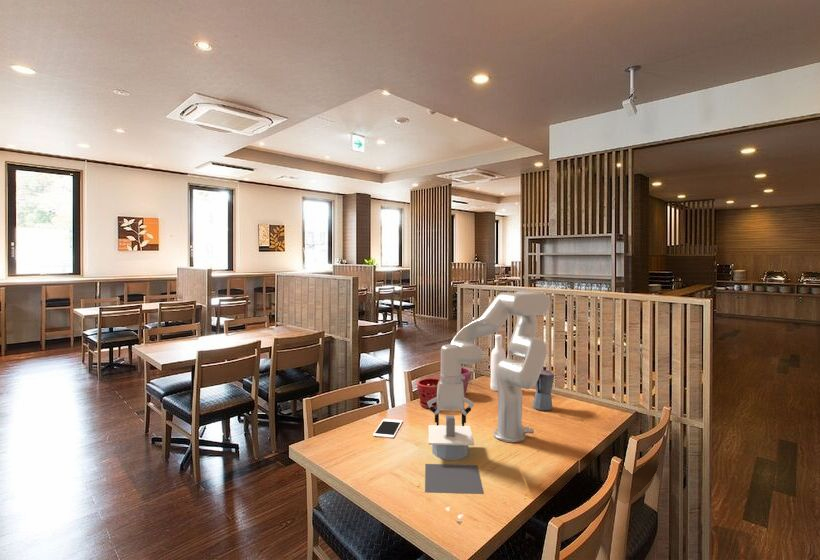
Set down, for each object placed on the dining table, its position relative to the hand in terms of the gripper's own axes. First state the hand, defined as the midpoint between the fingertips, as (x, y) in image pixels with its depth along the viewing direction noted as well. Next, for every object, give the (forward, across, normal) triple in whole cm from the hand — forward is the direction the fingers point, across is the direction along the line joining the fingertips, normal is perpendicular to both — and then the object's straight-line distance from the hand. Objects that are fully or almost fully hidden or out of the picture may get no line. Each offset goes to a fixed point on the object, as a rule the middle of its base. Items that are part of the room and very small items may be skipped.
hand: (450, 424), depth 160 cm
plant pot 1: (+11, +7, -51) cm, 53 cm away
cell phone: (+12, +25, -22) cm, 35 cm away
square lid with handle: (+4, 0, 0) cm, 4 cm away
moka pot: (+11, -47, -50) cm, 70 cm away
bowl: (+11, 0, 0) cm, 11 cm away
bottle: (+11, -30, -79) cm, 85 cm away
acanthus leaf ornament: (+12, -1, +37) cm, 39 cm away
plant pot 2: (+11, -7, -69) cm, 70 cm away
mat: (+11, 0, +19) cm, 22 cm away
